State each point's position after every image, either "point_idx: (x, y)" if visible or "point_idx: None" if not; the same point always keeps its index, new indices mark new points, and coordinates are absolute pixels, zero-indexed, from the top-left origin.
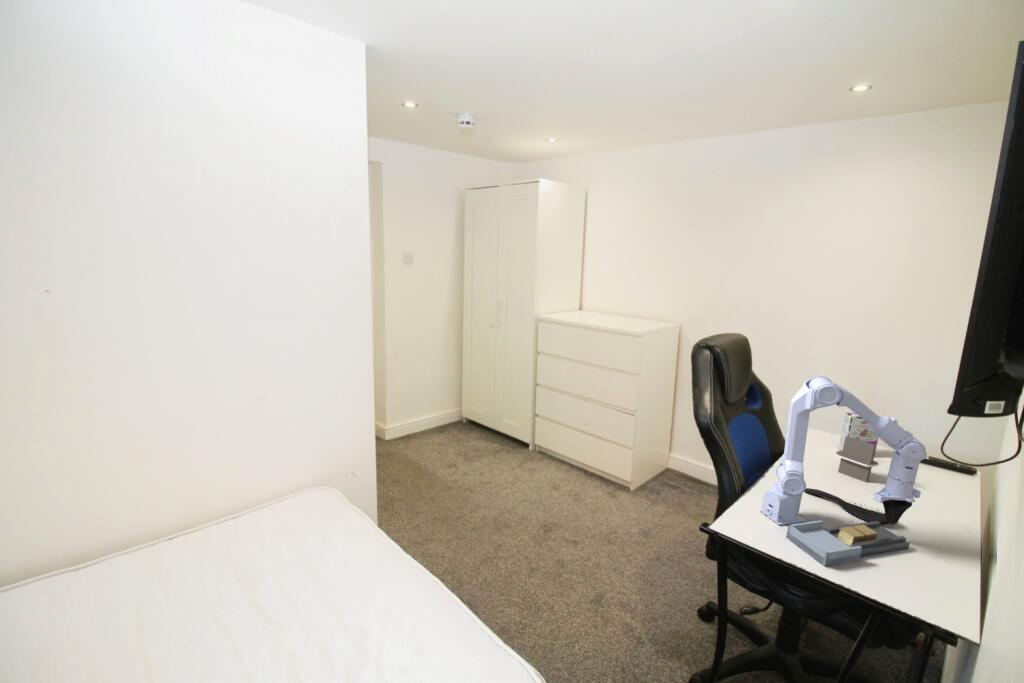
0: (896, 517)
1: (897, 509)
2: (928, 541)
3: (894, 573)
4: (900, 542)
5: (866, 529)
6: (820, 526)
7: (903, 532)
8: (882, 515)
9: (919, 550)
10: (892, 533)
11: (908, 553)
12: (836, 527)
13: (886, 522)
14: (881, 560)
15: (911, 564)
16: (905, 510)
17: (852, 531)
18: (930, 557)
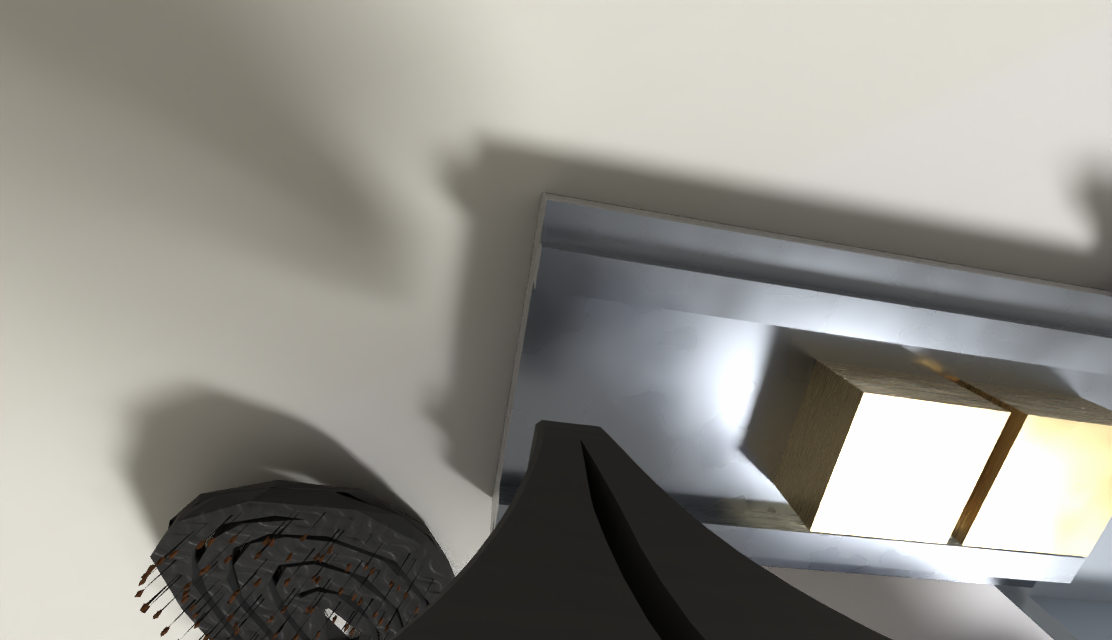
0: (636, 479)
1: (859, 625)
2: (147, 187)
3: (1097, 32)
4: (641, 242)
5: (891, 469)
6: (1060, 610)
7: (261, 368)
8: (229, 580)
9: (441, 136)
10: (531, 367)
11: (613, 153)
12: (987, 570)
13: (351, 499)
14: (969, 192)
15: (795, 38)
16: (501, 551)
17: (1058, 489)
18: (463, 15)
